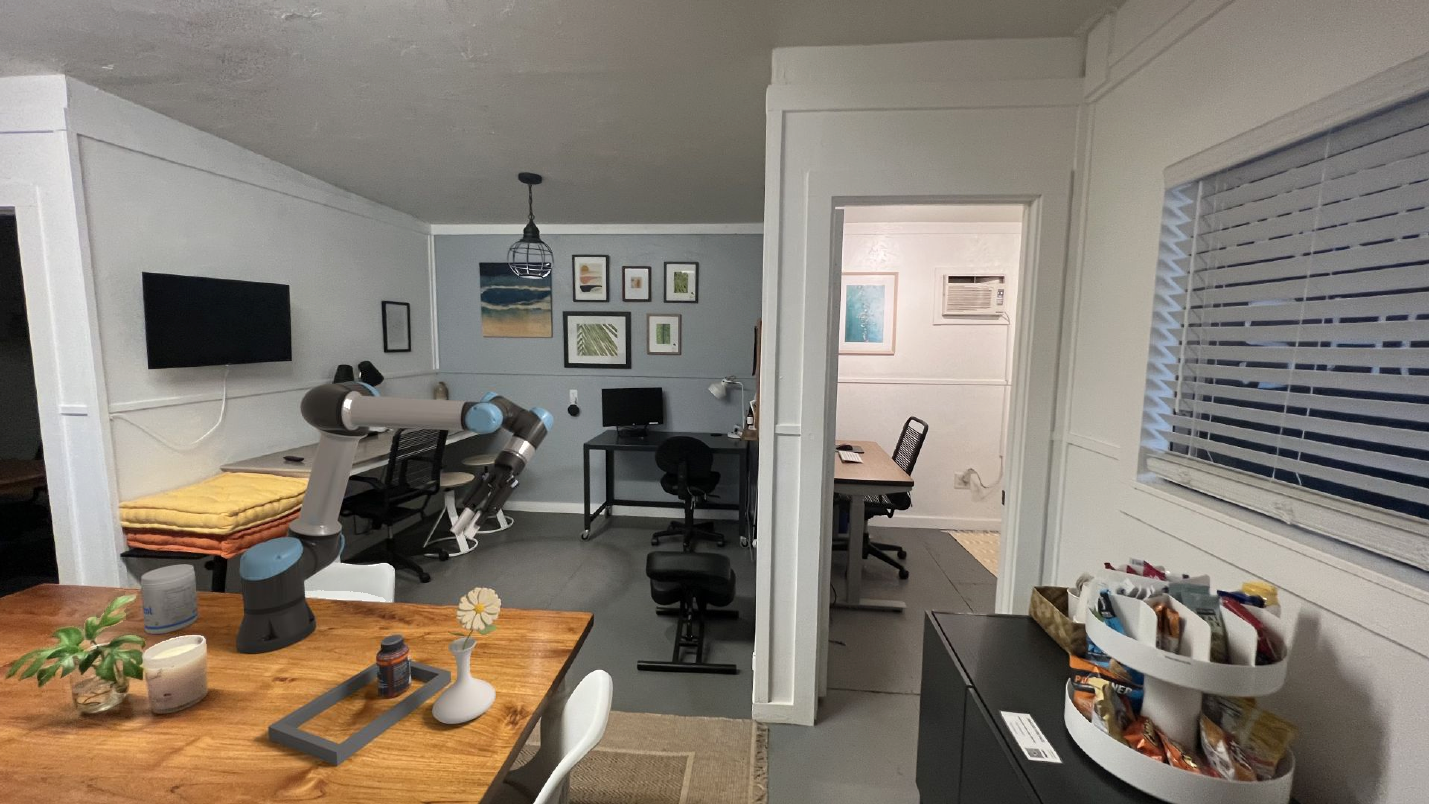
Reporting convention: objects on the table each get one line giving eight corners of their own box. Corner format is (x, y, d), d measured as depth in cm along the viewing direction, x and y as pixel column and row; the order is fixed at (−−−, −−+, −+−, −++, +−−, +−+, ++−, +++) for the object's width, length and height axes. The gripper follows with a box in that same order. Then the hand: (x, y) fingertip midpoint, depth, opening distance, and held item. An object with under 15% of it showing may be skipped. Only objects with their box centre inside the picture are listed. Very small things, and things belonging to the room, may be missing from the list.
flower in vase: (425, 735, 95) (419, 607, 93) (440, 696, 106) (435, 580, 104) (500, 722, 99) (496, 598, 97) (507, 685, 110) (504, 573, 107)
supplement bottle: (417, 682, 111) (415, 632, 110) (398, 700, 105) (395, 648, 104) (392, 680, 111) (389, 630, 110) (371, 698, 105) (368, 646, 104)
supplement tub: (136, 631, 130) (131, 575, 128) (185, 613, 139) (180, 561, 137) (158, 639, 127) (152, 581, 125) (207, 620, 135) (202, 566, 134)
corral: (269, 739, 94) (268, 726, 94) (390, 665, 117) (389, 654, 116) (337, 766, 88) (336, 752, 88) (451, 682, 111) (450, 671, 111)
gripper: (544, 468, 138) (493, 548, 125) (501, 461, 146) (449, 535, 133) (528, 452, 132) (472, 534, 120) (484, 446, 141) (428, 521, 128)
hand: (460, 534), depth 126 cm, fingers open, 4 cm apart
